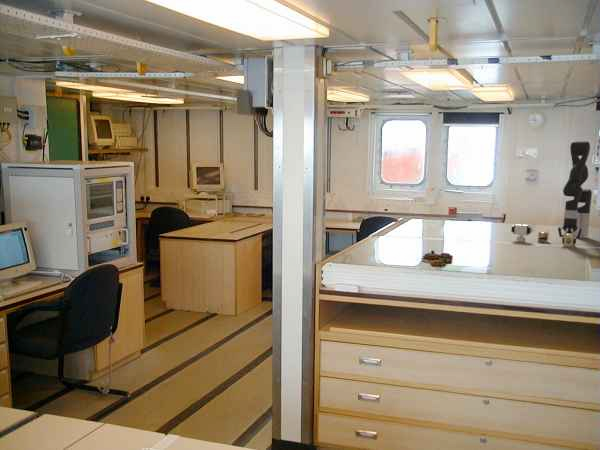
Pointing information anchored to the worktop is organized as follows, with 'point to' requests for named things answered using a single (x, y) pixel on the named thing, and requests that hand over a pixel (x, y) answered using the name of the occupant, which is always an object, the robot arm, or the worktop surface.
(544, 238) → the pipe stubs
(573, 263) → the worktop surface
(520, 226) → the pneumatic valve
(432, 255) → the gear puzzle
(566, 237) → the block
